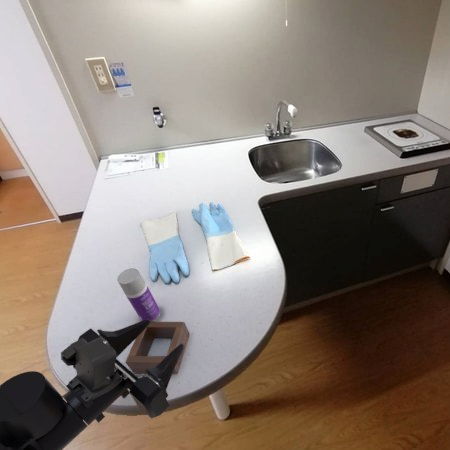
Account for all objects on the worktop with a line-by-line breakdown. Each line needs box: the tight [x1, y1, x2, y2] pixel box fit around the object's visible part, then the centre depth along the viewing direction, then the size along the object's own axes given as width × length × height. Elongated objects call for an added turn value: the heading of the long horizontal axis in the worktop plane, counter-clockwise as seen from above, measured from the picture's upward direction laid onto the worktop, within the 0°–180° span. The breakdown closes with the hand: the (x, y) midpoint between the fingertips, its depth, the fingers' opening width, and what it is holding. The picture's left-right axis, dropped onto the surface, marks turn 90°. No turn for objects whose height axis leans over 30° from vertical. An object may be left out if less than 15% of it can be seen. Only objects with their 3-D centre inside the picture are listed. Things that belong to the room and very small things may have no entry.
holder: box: [124, 321, 190, 374], centre depth 67 cm, size 9×9×5 cm
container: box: [117, 267, 161, 322], centre depth 72 cm, size 5×5×15 cm
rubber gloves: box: [140, 201, 251, 284], centre depth 95 cm, size 27×33×6 cm
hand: (165, 332), depth 55 cm, fingers open, 9 cm apart
